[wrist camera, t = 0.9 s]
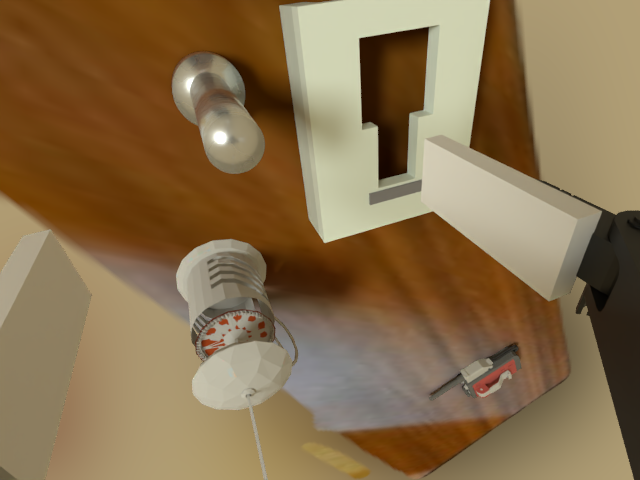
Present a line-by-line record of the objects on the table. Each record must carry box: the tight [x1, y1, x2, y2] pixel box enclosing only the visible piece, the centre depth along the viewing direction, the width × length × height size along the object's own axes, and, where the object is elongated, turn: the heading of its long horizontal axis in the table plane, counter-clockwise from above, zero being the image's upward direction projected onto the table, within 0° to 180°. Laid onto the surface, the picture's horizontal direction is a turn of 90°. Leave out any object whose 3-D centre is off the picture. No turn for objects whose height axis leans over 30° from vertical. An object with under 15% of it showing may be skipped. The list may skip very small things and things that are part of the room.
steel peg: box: [172, 51, 265, 174], centre depth 24 cm, size 6×6×15 cm
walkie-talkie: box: [429, 345, 521, 400], centre depth 72 cm, size 9×4×20 cm
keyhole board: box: [279, 0, 490, 243], centre depth 34 cm, size 20×16×5 cm
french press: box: [176, 239, 298, 480], centre depth 31 cm, size 10×12×25 cm
